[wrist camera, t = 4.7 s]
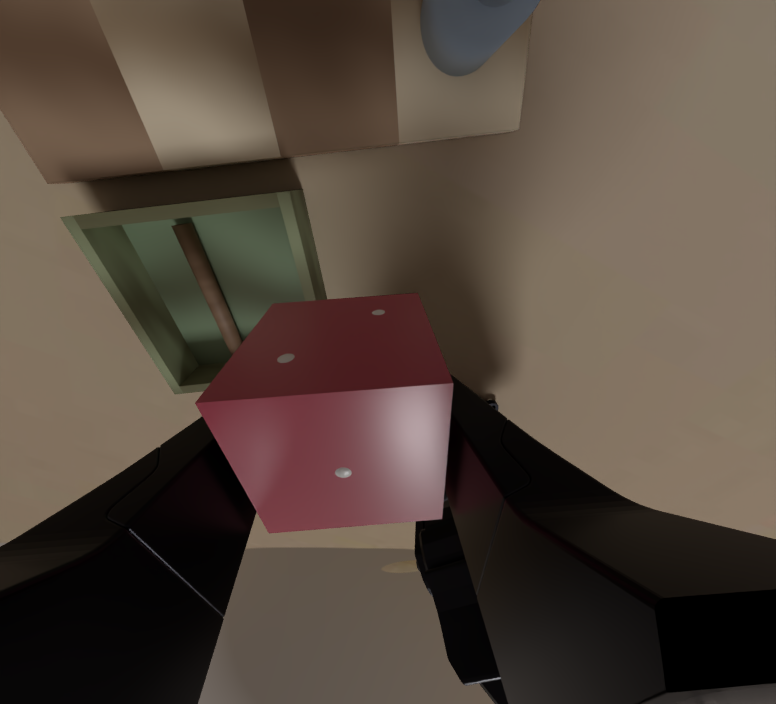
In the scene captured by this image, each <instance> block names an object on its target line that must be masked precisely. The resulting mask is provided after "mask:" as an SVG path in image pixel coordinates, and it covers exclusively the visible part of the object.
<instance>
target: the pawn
mask: <svg viewBox="0 0 776 704" xmlns="http://www.w3.org/2000/svg"><path fill="white" fill-rule="evenodd" d="M539 1H540V0H423V2H422V7H421V15H420V26H421V35H422V41H423V44H424V48H425V50H426V53H427V55H428V57H429V59H430V60H431V61H432V63H433V64H434V65H435V66H436V67H437V68H438V69H439V70H440V71H441V72H443V73H445V74H447V75H450V76H465V75H468V74H470V73H472V72H474V71H476V70H477V69H478V68H480V67H481V66H482V65H483V64H484V63H485V62H486V61H487V60H488V59H489V58H490V57H491V56H492V55H493V54H494V53H495V52H496V51H497V50H498V49H499V48H500V46H501V45H502V44H503V43H504V42H505V41H506V40H507V39H508V38H509V37H510V36H511V35H512V34H513V33H514V32H515V31H516V30H517V29H518V28H519V27H520V26H521V25H522V24H523V23H524V22H525V21H526V20H527V18H528V17H529V16H530V15H531V13H532V12H533V11H534V9H535V8H536V6H537V5H538V3H539Z"/></svg>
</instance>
